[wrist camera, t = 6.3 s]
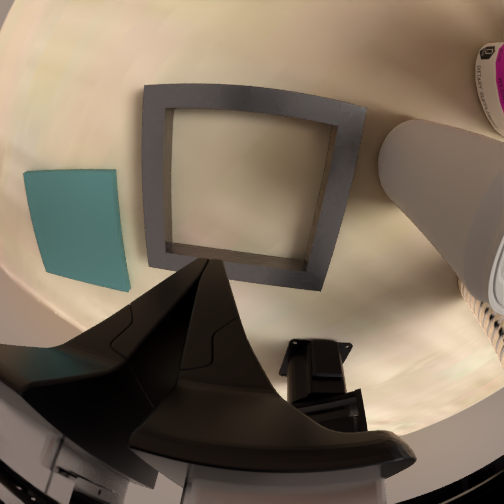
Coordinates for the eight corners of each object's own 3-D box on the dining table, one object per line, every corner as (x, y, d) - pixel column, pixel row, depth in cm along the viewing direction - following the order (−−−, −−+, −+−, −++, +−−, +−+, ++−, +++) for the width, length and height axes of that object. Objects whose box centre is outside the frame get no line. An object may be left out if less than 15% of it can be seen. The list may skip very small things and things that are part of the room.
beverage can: (450, 198, 16) (553, 296, 6) (379, 213, 17) (464, 344, 7) (444, 115, 13) (582, 163, 3) (364, 124, 14) (497, 175, 4)
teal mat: (130, 288, 23) (128, 292, 22) (49, 268, 23) (46, 271, 23) (115, 169, 17) (111, 171, 17) (27, 171, 17) (23, 173, 17)
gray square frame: (318, 279, 21) (320, 291, 19) (155, 256, 21) (148, 266, 20) (359, 107, 14) (366, 108, 13) (154, 85, 14) (144, 85, 13)
